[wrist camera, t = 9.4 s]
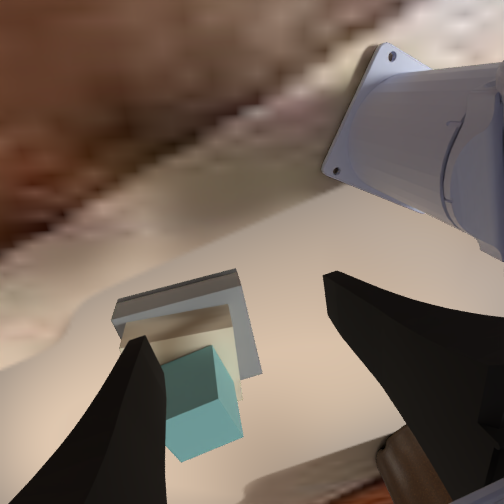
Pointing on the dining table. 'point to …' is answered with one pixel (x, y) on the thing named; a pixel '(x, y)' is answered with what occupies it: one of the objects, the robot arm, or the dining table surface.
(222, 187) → the dining table surface
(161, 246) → the dining table surface
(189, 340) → the top slab
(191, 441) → the teal cube
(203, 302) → the base slab
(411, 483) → the plant pot
